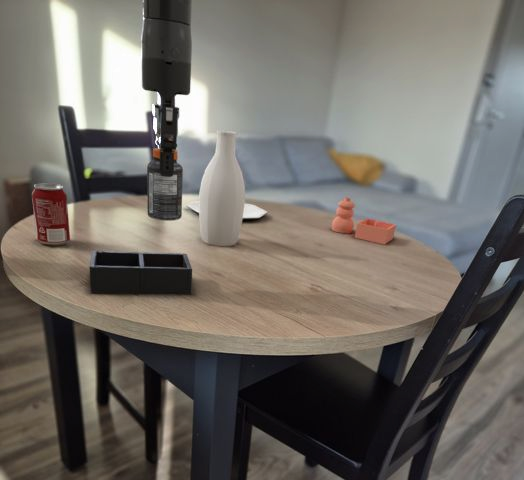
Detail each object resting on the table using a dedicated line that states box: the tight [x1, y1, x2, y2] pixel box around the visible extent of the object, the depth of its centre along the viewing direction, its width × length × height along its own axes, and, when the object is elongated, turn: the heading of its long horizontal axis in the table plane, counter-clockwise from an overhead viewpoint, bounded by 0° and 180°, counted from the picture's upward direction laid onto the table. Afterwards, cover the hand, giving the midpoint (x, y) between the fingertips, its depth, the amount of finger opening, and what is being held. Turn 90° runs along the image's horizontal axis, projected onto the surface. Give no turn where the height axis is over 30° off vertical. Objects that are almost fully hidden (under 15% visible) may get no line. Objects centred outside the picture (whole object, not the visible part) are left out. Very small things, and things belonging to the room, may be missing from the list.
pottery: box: [331, 196, 397, 245], centre depth 142 cm, size 18×10×10 cm, turn 62°
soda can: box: [31, 182, 71, 247], centre depth 103 cm, size 7×7×12 cm
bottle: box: [198, 129, 246, 247], centre depth 115 cm, size 11×11×25 cm
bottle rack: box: [88, 250, 193, 295], centre depth 89 cm, size 17×9×5 cm, turn 104°
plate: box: [186, 199, 268, 220], centre depth 150 cm, size 24×24×2 cm
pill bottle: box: [146, 147, 184, 222], centre depth 83 cm, size 6×6×11 cm
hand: (165, 172), depth 82 cm, fingers closed on pill bottle, 6 cm apart
